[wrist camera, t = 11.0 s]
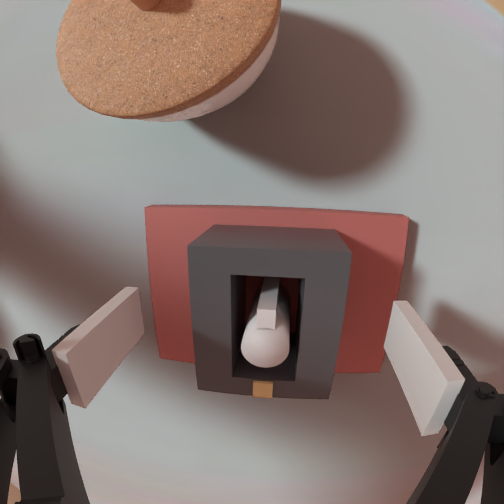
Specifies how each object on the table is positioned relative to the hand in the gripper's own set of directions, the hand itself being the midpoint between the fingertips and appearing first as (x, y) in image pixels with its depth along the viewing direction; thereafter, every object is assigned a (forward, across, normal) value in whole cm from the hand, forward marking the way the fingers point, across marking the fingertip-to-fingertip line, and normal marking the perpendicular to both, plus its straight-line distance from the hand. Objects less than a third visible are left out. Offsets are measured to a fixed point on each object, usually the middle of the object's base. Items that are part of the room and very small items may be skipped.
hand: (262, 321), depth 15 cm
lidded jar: (+6, -5, +15) cm, 16 cm away
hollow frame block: (+4, 0, 0) cm, 4 cm away
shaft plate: (+5, 0, -1) cm, 5 cm away
